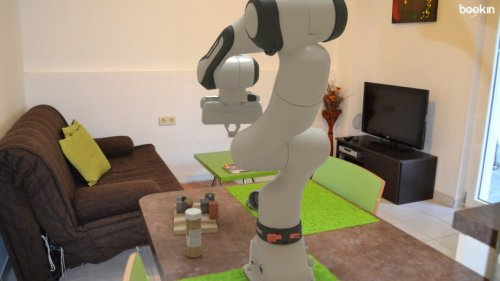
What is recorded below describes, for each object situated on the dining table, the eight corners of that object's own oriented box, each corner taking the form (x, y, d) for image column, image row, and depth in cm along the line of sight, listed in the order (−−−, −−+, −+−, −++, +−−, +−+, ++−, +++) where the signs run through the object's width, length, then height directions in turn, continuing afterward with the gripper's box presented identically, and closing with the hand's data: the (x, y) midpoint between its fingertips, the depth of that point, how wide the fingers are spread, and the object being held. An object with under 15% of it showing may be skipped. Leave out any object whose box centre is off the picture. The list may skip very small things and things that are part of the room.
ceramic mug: (276, 206, 151) (276, 186, 149) (265, 213, 144) (265, 193, 142) (253, 200, 156) (253, 181, 155) (241, 207, 150) (241, 187, 148)
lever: (219, 218, 135) (219, 204, 134) (202, 219, 134) (201, 205, 133) (214, 200, 150) (214, 187, 149) (198, 201, 149) (198, 188, 148)
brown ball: (193, 209, 141) (193, 200, 140) (183, 210, 141) (182, 200, 140) (193, 205, 145) (192, 196, 144) (182, 206, 144) (182, 197, 143)
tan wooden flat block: (221, 231, 129) (221, 216, 128) (173, 235, 126) (173, 219, 125) (215, 204, 151) (215, 191, 150) (174, 206, 149) (174, 193, 147)
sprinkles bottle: (186, 250, 117) (185, 207, 114) (202, 250, 117) (201, 207, 114) (185, 258, 113) (184, 214, 109) (202, 257, 113) (201, 213, 110)
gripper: (200, 97, 125) (201, 140, 128) (264, 96, 128) (263, 138, 131) (199, 94, 131) (200, 135, 134) (260, 94, 134) (260, 134, 137)
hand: (232, 137), depth 133 cm, fingers closed
